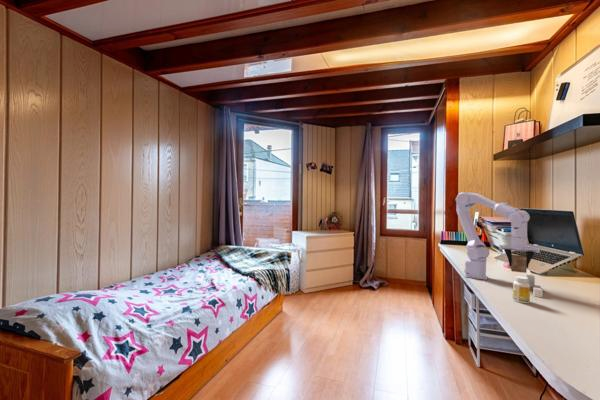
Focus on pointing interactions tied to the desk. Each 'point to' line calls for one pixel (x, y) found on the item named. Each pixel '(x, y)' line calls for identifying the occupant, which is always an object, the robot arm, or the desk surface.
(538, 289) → the off-white cube
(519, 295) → the supplement bottle
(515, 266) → the brown rectangular block
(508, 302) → the desk surface
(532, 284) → the post
